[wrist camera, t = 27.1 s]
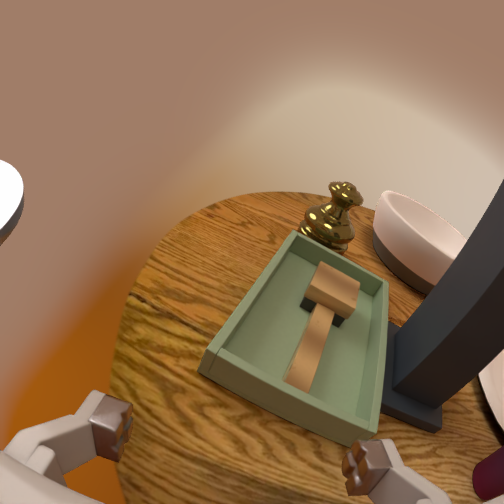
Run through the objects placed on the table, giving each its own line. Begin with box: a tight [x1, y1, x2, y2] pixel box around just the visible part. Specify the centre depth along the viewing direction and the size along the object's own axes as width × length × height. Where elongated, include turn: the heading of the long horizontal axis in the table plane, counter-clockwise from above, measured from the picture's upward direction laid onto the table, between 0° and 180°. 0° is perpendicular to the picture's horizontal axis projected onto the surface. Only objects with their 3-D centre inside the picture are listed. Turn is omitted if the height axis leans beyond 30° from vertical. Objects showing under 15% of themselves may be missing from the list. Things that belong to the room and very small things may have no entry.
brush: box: [281, 261, 360, 394], centre depth 27 cm, size 16×5×3 cm, turn 156°
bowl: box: [373, 191, 467, 295], centre depth 48 cm, size 22×22×8 cm
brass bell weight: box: [297, 182, 363, 256], centre depth 40 cm, size 7×7×10 cm
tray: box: [197, 230, 389, 448], centre depth 29 cm, size 14×22×3 cm, turn 157°
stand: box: [380, 180, 504, 433], centre depth 21 cm, size 8×12×26 cm, turn 157°
